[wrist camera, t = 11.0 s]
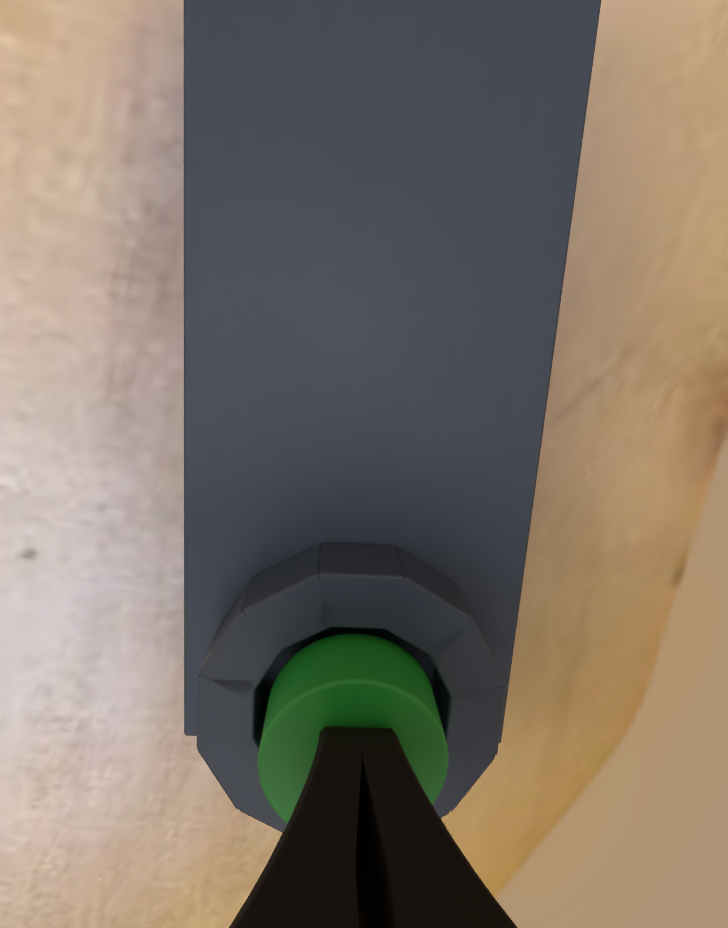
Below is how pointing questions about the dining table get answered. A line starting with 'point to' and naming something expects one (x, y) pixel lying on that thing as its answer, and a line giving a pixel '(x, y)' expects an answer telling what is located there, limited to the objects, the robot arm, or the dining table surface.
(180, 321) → the dining table surface
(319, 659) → the button
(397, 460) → the button block
